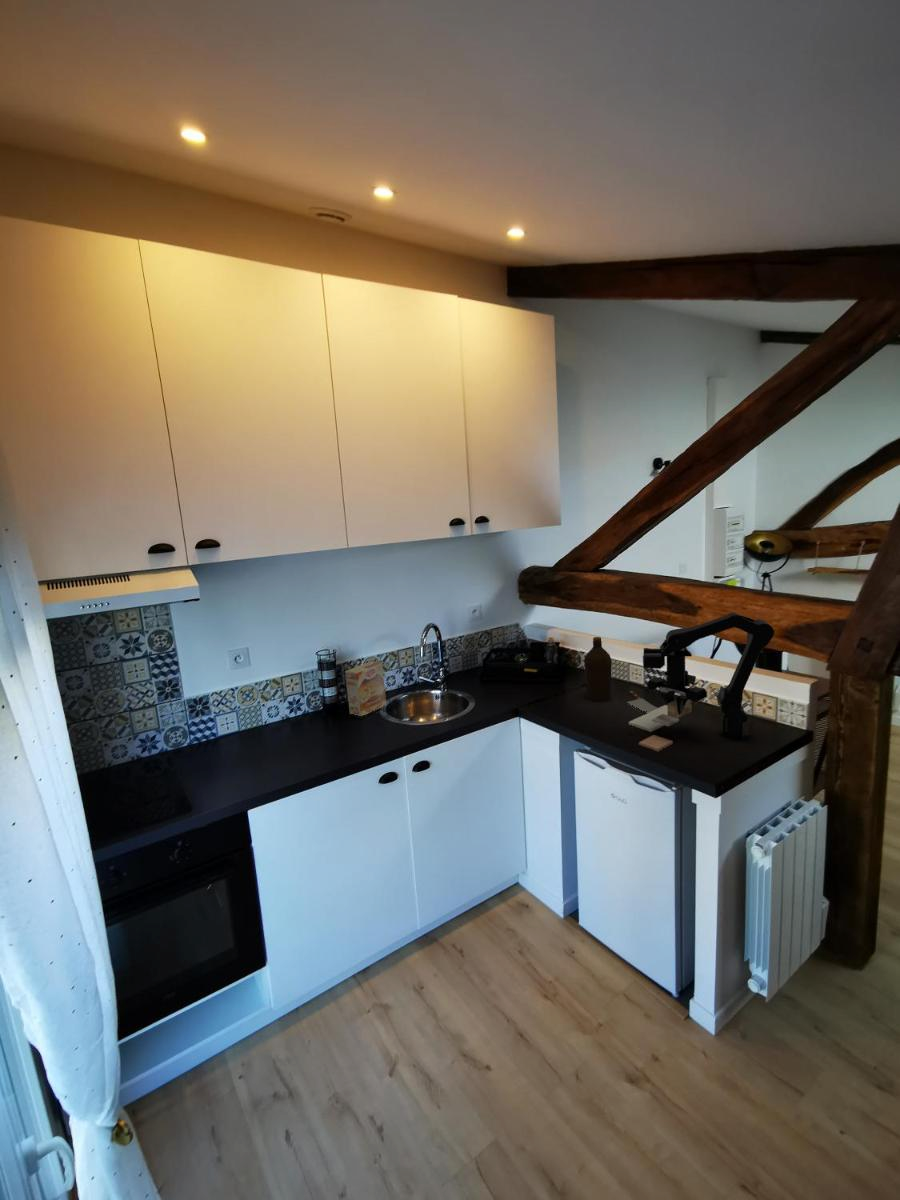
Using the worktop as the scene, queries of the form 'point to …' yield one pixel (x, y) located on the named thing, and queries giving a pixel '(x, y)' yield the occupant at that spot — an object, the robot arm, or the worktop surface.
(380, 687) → the coffeecake box
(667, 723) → the turner
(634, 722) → the rest board
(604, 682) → the olive oil
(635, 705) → the kitchen cleaver
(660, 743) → the tile
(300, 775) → the worktop surface
